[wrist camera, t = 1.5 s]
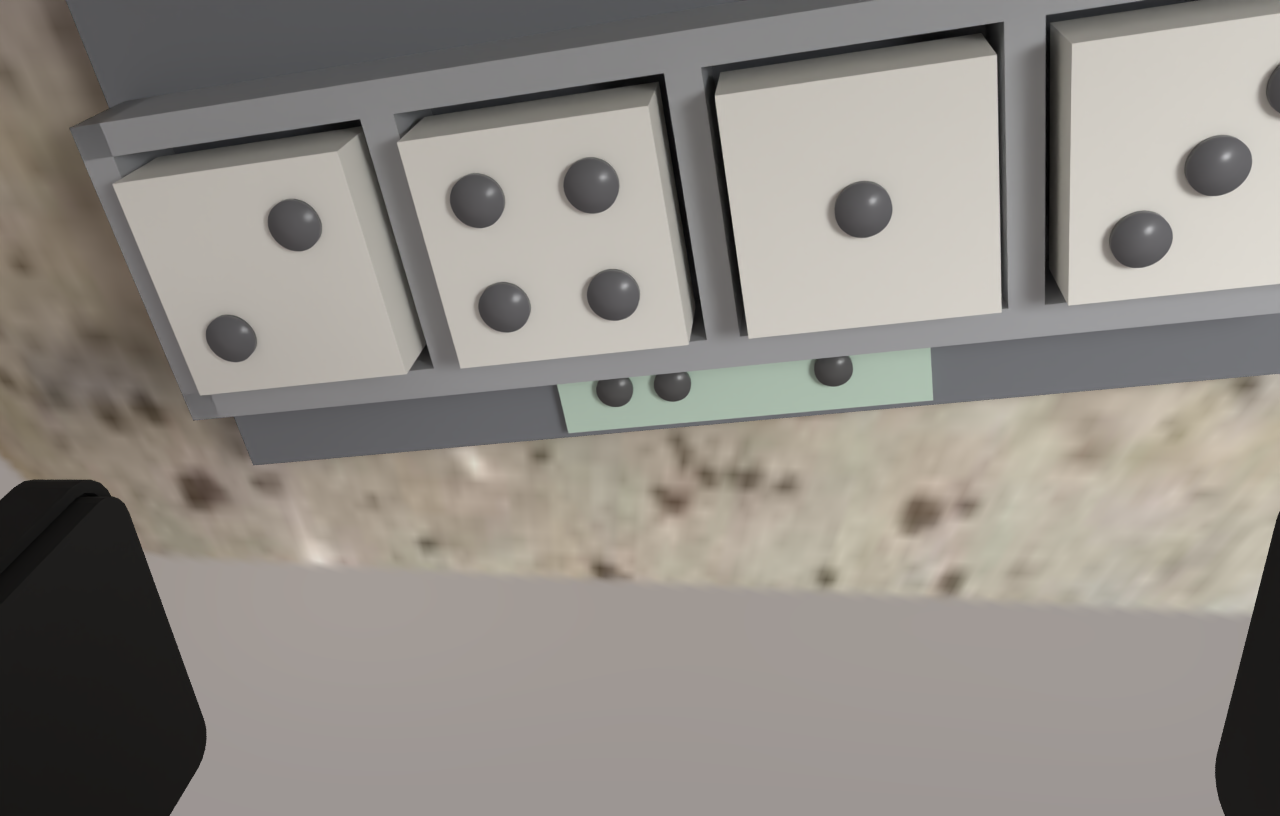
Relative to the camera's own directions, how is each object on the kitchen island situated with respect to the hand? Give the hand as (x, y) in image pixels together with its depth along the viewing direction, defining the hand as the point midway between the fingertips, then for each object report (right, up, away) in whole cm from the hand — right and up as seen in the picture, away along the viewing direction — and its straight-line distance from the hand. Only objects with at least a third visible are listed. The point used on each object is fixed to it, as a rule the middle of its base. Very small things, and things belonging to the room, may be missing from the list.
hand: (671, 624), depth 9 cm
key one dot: (+5, +7, +16) cm, 18 cm away
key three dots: (+12, +8, +15) cm, 20 cm away
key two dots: (-9, +6, +19) cm, 22 cm away
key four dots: (-2, +6, +17) cm, 19 cm away
